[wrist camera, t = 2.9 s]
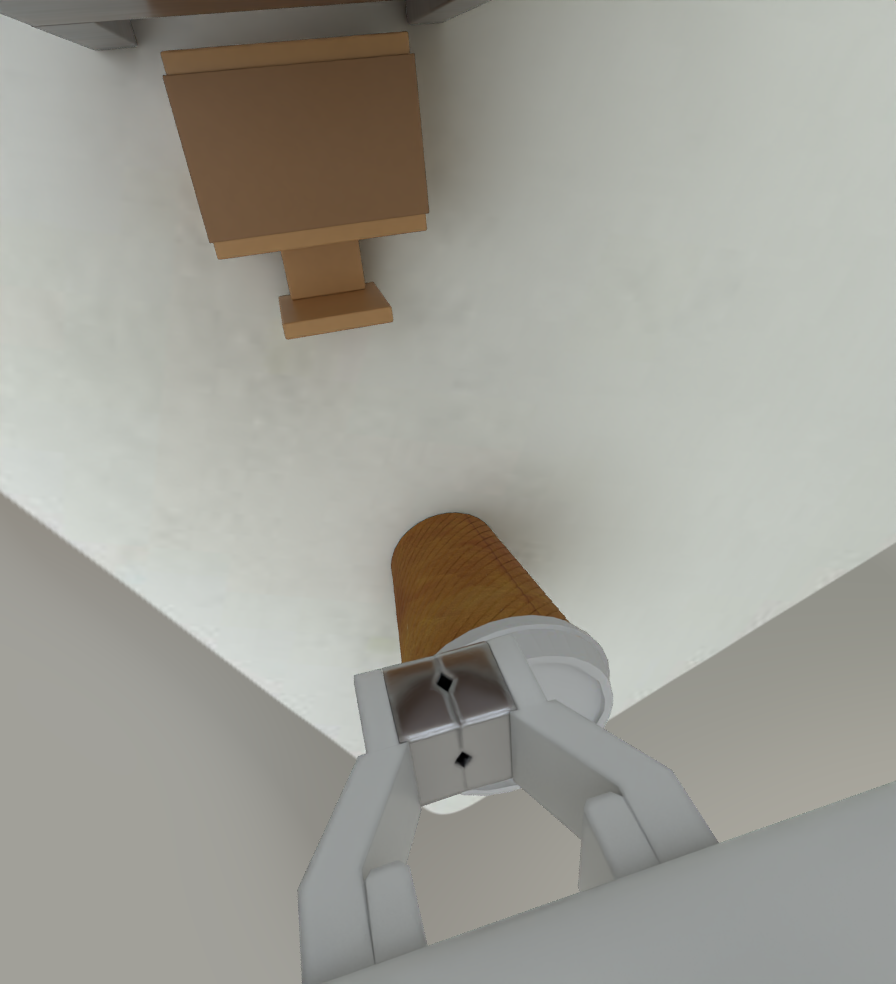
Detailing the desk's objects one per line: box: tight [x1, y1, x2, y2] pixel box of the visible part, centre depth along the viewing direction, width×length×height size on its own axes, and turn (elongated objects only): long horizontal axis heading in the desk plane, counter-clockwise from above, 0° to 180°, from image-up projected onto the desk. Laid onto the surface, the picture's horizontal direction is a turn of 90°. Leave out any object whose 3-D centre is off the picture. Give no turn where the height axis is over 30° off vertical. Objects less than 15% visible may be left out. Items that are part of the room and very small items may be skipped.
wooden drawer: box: [161, 31, 429, 339], centre depth 22 cm, size 9×7×5 cm
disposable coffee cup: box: [391, 513, 613, 796], centre depth 30 cm, size 10×10×12 cm
